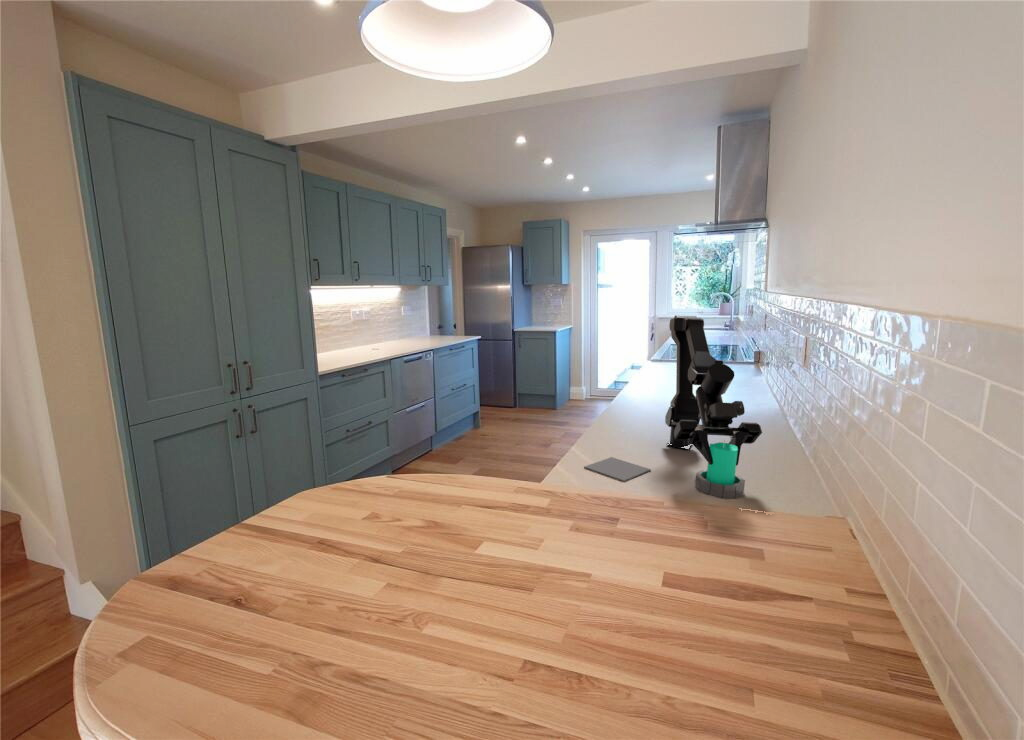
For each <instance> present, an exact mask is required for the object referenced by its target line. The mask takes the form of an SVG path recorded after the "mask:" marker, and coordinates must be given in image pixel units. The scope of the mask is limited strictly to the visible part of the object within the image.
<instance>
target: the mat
mask: <svg viewBox="0 0 1024 740" xmlns="http://www.w3.org/2000/svg"><path fill="white" fill-rule="evenodd" d="M583 468H584V469H586V470H588V471H591V472H593V473H597V474H600V475H603V476H605V477H609V478H611V479H614V480H616V481H620V482H623V483H625V482H627V481H630V480H633V479H635V478H637V477H639V476H642V475H644V474H647V473H649V472H651V471H652V470H651V469H652V468H649V467H648V468H647V467H645V466H641V465H639V464H635V463H631V462H628V461H625V460H622V459H619V458H617V457H612V456H611V457H607V458H604V459H602V460H599V461H597V462H594V463H591V464H588V465H585V466H584V467H583Z"/></svg>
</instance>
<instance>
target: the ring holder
mask: <svg viewBox="0 0 1024 740" xmlns="http://www.w3.org/2000/svg"><path fill="white" fill-rule="evenodd" d="M706 477H707V469H705V468H704V469H702V470H698V471H697V472H696V473H695V481H694V483H695V484H694V487H695V489H696V490H697V491H698V492H700V493H702V494H705V495H707V496H709V497H714V498H719V499H724V500H727V499H728V500H735V499H740V498H743V496H744V494H745V493H744V492H745V485H746V480H745V479H744V478H743V477H742V476H741V475H738V474H736V473H735V479H734V484H721V483H716V482H712V481H709V480H707V479H706Z"/></svg>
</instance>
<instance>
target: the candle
mask: <svg viewBox="0 0 1024 740" xmlns="http://www.w3.org/2000/svg"><path fill="white" fill-rule="evenodd" d="M725 441H726V439H724V440H723V442H716V443H710V444H709V447H710V451H711V455H712V459H713V464H712V465H710V464H709V463H708V462H707V477H706V479H707V480H709V481H712V482H716V483H721V484H734V479H735V474H736V469H737V466H736V461H737V452H738V447H737V446H735V445H732V444H728V443H729V442H725Z"/></svg>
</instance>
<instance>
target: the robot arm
mask: <svg viewBox="0 0 1024 740" xmlns="http://www.w3.org/2000/svg"><path fill="white" fill-rule="evenodd" d="M704 326H705V320H704V318H701V317H698V316H696V315H674V317H673V318H671V319H670V320H669V331H670V333H671V335H670V336H671V339H672V341H674V343H675V345H676V376H675V378H676V389H675V390H676V391H675V392H676V393H675V395H674V396H673V397H672V399H671V401H670V406H669V407H668V409H667V412H666V414H665V419H664V420H665V425H666V426H668V427H669V428H670V432H669V433H670V435H669V441H670V444H672V445H670V444H669V443H668V442H667V443H666V445H667V444H669V445H670V446H675V447H684V446H688V445H690V444H693V445H692V446H694V448H695V449H696V450H697V451H699V452H700V454H701V455H702V457H703V458H704V460H705V461H707V464H708V463H709V464H710V465H712V464H713V459H712V455H711V451H710V444H709V443H710V442H709V439H708V437H709V436H725V437H727V436H728V437H729V439H730V441H729V442H727V443H728V444H732V445H735V446H737V447H738V452H737V461H736V467H737V466H738V465H739V461H740V455H741V448H742V445H744V444H745V445H749V444H750V445H751V444H754V443H755V442H756V440H757V439H758V438H759V437H760V436H761V435H762V434H763V431H762V428H761V427H762V426H761V425H760V424H759V423H757V422H746V421H743V422H741V423H740V424H739V426H738V427H730V426H729V425H732V424H733V419H735V418H737V419H738V417H740V416H742V415H744V414H745V412H746V411H745V406H744V403H743V400H734V401H732V402H724V400H723V397H722V395H724V394H725V395H726V392H727V391H728V388H729V387H730V385H731V383H732V381H733V380H734V379H735V371H734V370H733V369H732V368H731V367H730V366H728V365H726V364H725V363H724V361H723V360H722V359H721V360H719V359H718V360H717V359H716V358H715V357H714V356H712V354H711V353H710V349H709V345H708V341H707V337H706V334H705V333H706V332H705V329H704ZM694 386H698V387H697V388H696V390H695V394H694V388H693V387H694ZM700 421H701V424H700ZM675 447H674V448H675Z"/></svg>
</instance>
